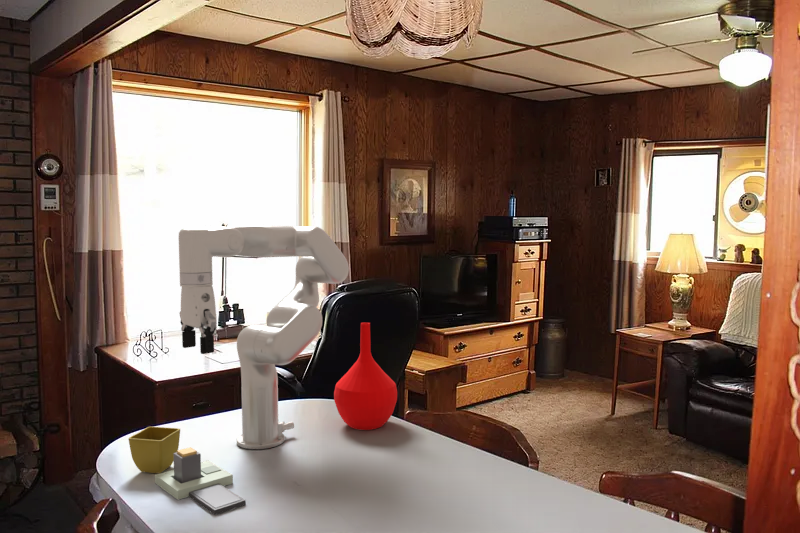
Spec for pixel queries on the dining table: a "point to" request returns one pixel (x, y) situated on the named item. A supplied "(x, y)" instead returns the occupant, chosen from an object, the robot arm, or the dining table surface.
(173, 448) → the flower pot
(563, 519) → the dining table surface
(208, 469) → the outlet plate
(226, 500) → the phone slab
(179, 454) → the block
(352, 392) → the vase
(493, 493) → the dining table surface
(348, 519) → the dining table surface
